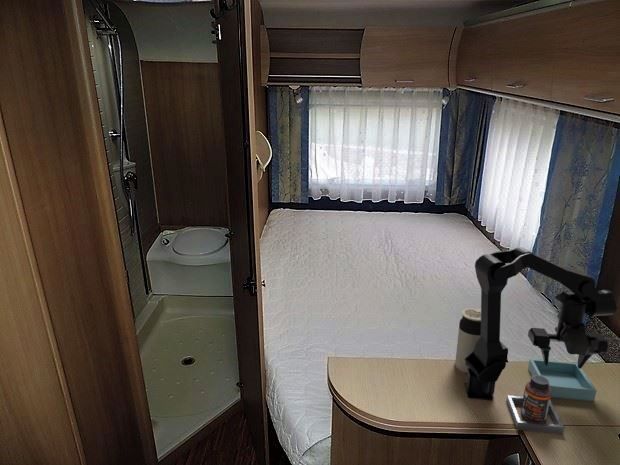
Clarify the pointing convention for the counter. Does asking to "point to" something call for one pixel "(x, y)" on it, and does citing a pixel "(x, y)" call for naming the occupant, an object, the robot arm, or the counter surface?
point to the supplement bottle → (536, 399)
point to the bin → (564, 379)
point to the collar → (534, 426)
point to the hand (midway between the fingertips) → (562, 366)
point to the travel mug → (467, 336)
